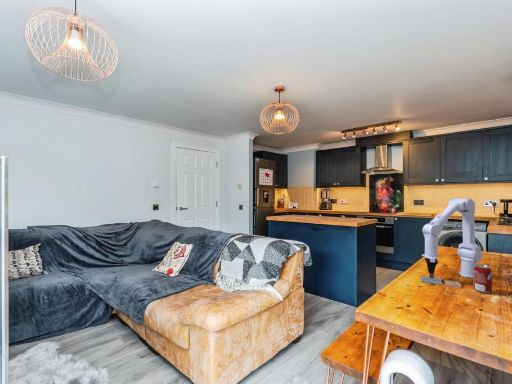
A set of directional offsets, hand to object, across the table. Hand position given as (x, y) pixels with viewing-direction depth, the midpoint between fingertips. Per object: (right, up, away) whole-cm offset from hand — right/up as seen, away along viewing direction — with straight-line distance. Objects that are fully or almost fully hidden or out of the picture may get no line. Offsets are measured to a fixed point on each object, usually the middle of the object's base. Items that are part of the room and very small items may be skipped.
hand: (431, 272), depth 143 cm
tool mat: (0, -4, 0) cm, 4 cm away
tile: (+8, -4, -3) cm, 10 cm away
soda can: (+15, -5, -15) cm, 21 cm away
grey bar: (0, -4, 0) cm, 4 cm away
